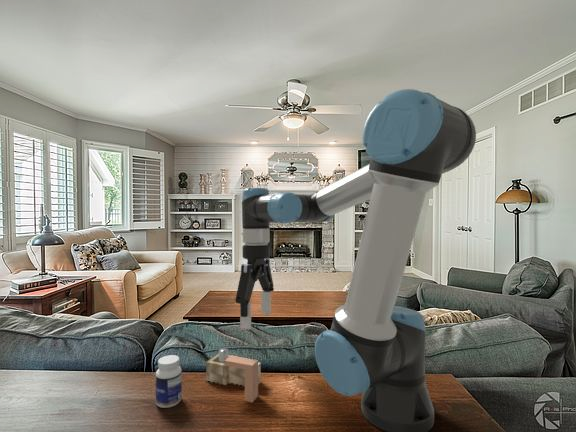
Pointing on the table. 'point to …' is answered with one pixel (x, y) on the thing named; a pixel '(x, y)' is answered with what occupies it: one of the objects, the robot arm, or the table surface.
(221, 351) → the cylinder
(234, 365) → the keeper
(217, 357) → the link
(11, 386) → the table surface
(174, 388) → the pill bottle
